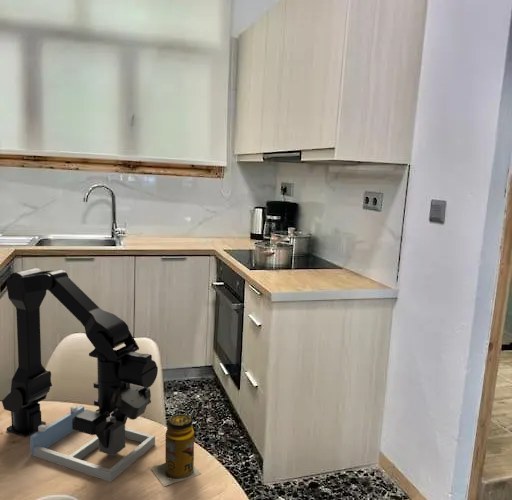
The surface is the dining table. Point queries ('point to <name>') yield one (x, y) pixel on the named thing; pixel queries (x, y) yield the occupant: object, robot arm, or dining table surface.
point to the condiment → (178, 451)
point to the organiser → (84, 447)
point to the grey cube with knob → (115, 438)
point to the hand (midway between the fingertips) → (112, 442)
